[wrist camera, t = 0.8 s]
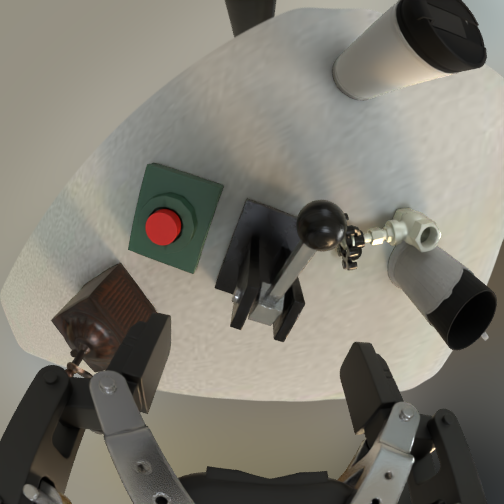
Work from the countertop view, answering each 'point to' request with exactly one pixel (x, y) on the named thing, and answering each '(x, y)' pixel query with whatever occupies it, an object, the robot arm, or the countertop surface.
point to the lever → (300, 256)
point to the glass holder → (444, 293)
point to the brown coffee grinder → (101, 319)
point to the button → (163, 226)
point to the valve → (390, 235)
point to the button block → (184, 205)
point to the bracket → (261, 263)
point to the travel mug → (410, 48)
